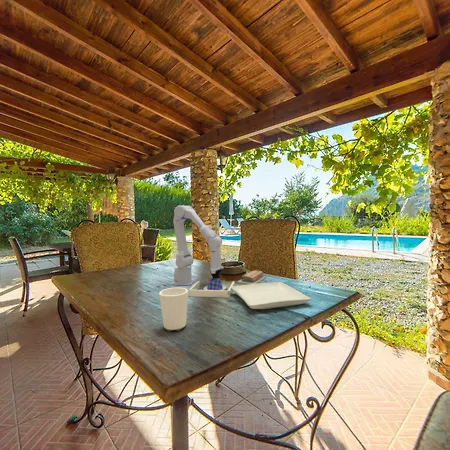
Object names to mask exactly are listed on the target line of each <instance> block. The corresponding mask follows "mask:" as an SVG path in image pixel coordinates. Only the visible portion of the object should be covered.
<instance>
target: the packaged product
mask: <svg viewBox="0 0 450 450" xmlns="http://www.w3.org/2000/svg"><path fill="white" fill-rule="evenodd" d="M263 273H264V272H263V271H261V270H252V271H250V272H247V273H245V274H244V275H242V276H241V279H239V280H237V284H240V285H248V284H258V283H261V282H262V281H263V280H264V279H266V278H267V276H265V275H263Z"/></svg>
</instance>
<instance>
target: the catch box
mask: <svg viewBox="0 0 450 450" xmlns="http://www.w3.org/2000/svg"><path fill="white" fill-rule="evenodd" d="M232 286H236V283H235V281H234V280H233V281H232V282H231V284H230V286H229V288H228V289H227V290H226V289H224V290H204V289H199V288H200V287H201V281H200V280H197V281H196V282H195V283H194V284H192V286H191V287H190V288H189V289H187V290H188V297H197V298H198V297H199V298H201V297H203V298H226V299H227V298H231V296H232V294H233V292H234V291H233V289H232V288H231V287H232Z"/></svg>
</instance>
